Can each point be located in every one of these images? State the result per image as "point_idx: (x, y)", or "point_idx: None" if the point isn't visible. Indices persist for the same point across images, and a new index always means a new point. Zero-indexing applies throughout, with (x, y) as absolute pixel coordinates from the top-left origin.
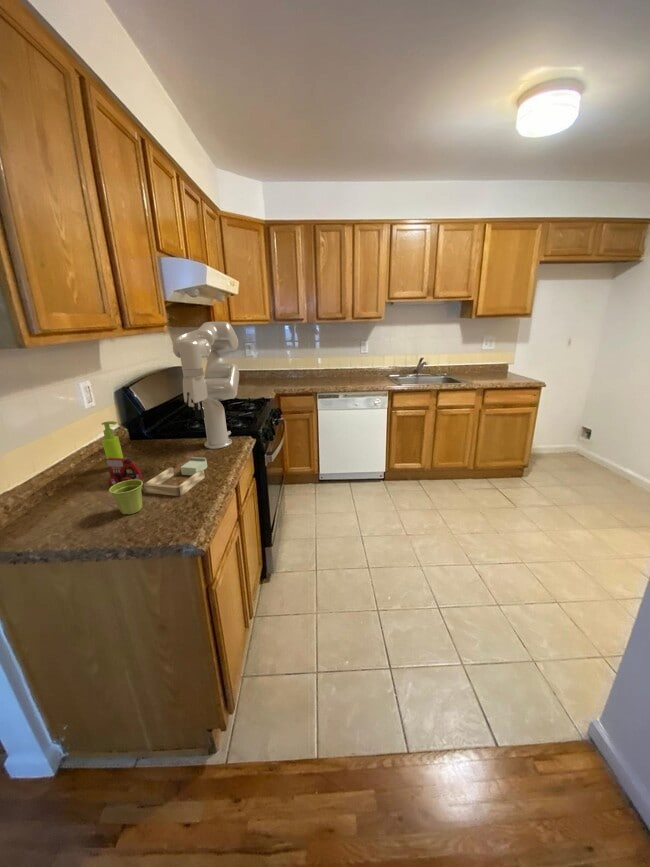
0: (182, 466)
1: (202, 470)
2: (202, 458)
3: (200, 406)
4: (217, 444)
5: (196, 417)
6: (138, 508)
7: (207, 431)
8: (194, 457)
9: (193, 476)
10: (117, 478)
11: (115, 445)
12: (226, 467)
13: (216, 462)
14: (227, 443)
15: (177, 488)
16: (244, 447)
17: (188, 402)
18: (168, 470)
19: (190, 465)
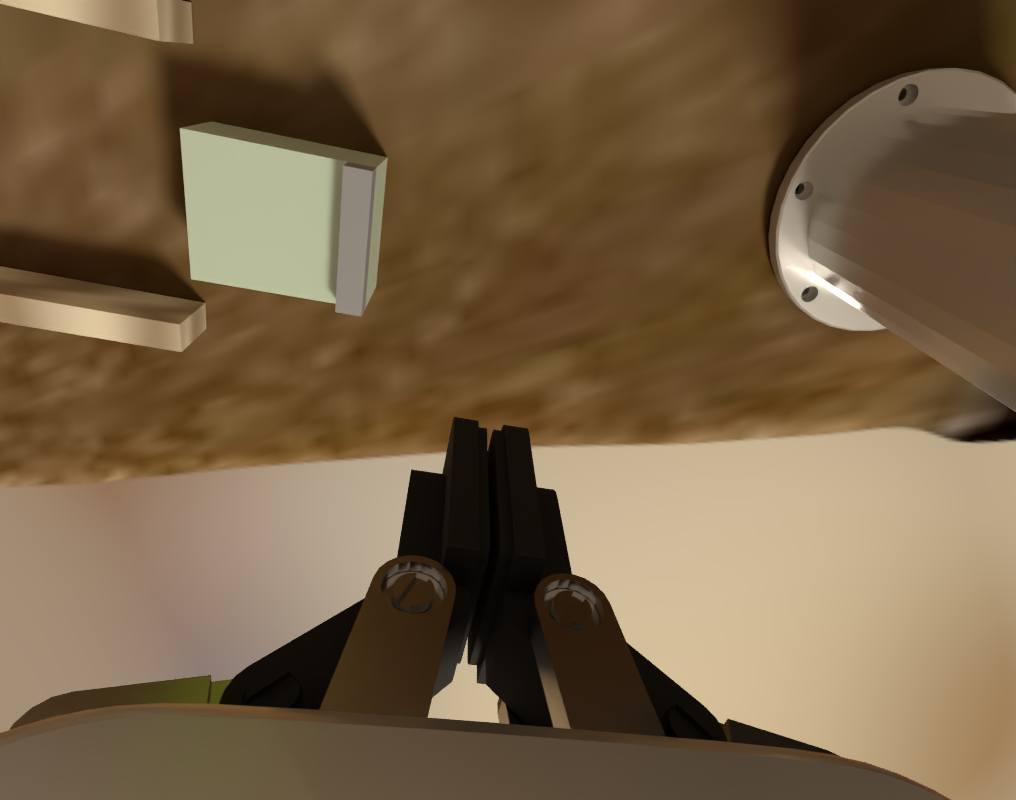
0: (196, 142)
1: (172, 345)
2: (342, 291)
3: (508, 691)
4: (811, 241)
5: (451, 442)
6: None
7: (949, 172)
8: (359, 207)
9: (54, 318)
10: None
11: None
12: (379, 415)
13: (466, 323)
14: (827, 313)
15: None
16: (738, 435)
17: (205, 731)
18: (86, 21)
19: (233, 212)
